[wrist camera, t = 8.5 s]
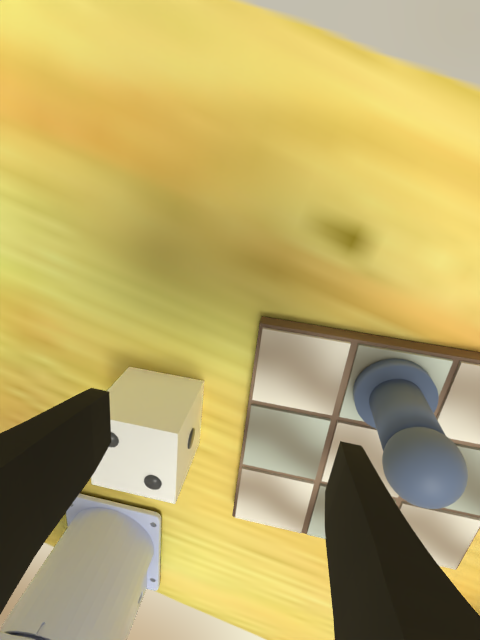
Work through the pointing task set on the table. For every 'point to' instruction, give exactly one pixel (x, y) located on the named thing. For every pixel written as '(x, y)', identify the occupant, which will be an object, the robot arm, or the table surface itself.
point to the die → (151, 434)
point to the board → (346, 429)
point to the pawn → (410, 433)
